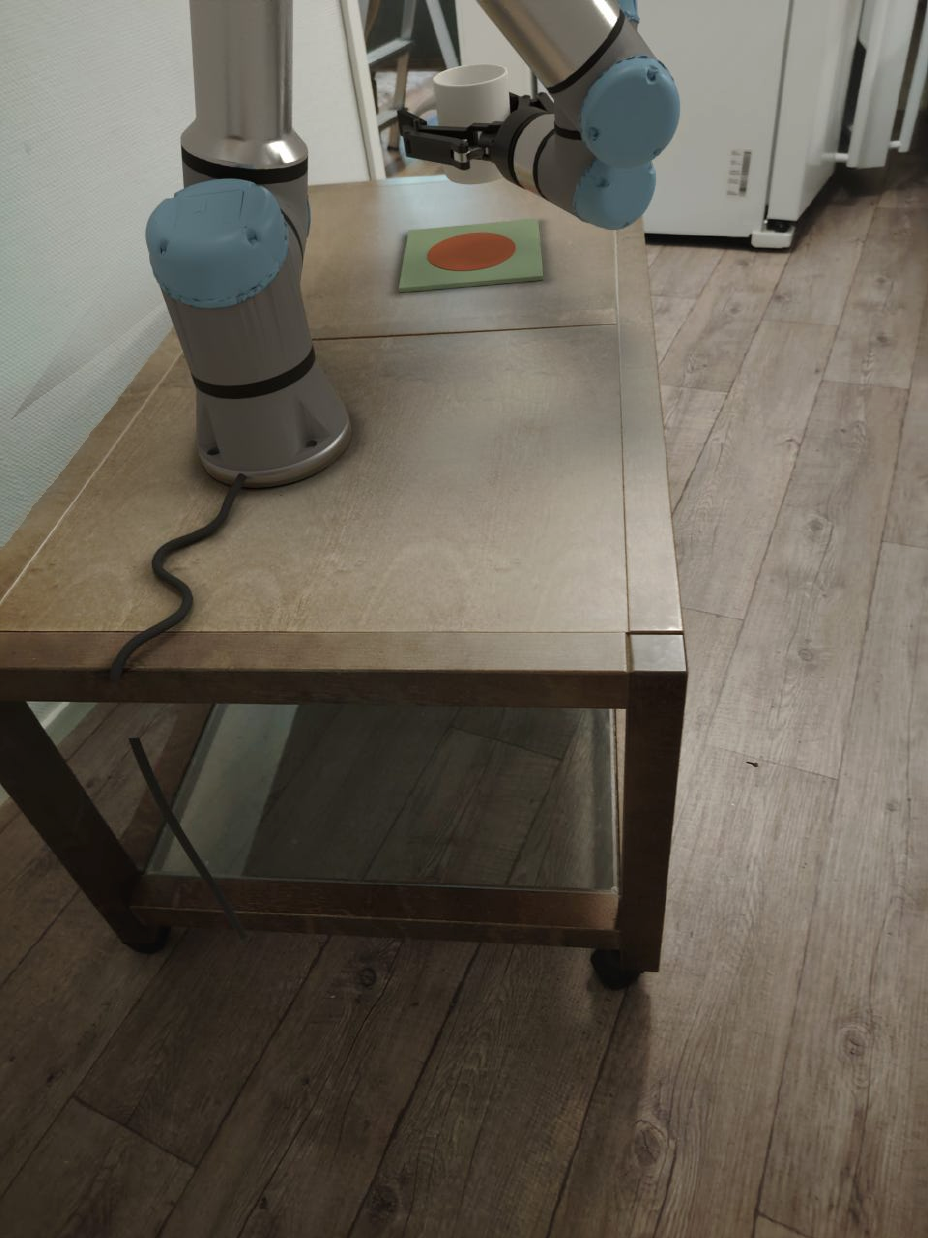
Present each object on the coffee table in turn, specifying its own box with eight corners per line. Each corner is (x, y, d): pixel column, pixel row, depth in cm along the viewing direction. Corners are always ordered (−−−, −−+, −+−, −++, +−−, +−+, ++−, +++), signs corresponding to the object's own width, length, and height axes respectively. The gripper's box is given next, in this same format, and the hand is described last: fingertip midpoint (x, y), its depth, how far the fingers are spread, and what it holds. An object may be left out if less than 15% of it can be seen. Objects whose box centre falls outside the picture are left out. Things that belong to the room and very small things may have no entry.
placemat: (543, 280, 110) (543, 274, 110) (399, 292, 112) (398, 287, 111) (538, 222, 123) (538, 217, 122) (408, 234, 124) (408, 229, 124)
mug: (416, 169, 113) (403, 73, 105) (510, 156, 113) (503, 59, 105) (417, 193, 107) (403, 93, 99) (517, 180, 106) (510, 78, 99)
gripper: (446, 221, 93) (362, 168, 107) (633, 161, 99) (531, 119, 114) (436, 144, 88) (350, 98, 102) (635, 86, 94) (528, 51, 108)
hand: (445, 109), depth 108 cm, fingers closed on mug, 11 cm apart
